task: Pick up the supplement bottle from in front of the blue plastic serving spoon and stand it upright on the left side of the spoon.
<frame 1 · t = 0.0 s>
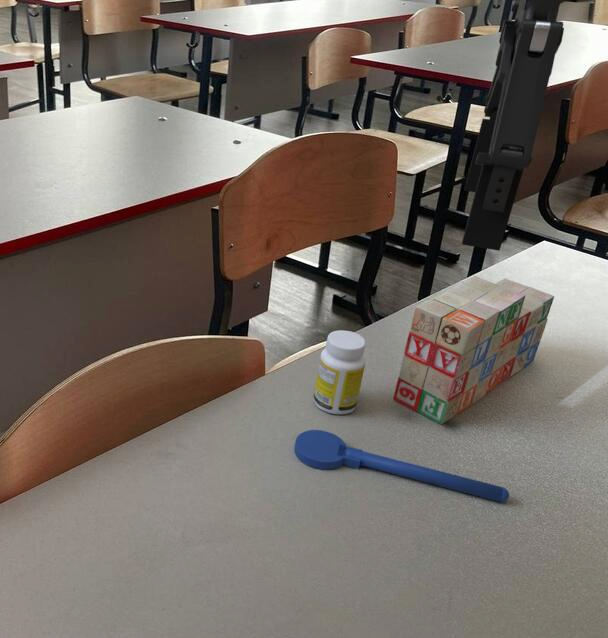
hand: (480, 217, 65), 26 cm above the table, tool pointing down, fingers open, 13 cm apart
stack of blocks: (465, 381, 90), on the table
spoon: (370, 466, 76), on the table
supplement bottle: (333, 404, 85), on the table
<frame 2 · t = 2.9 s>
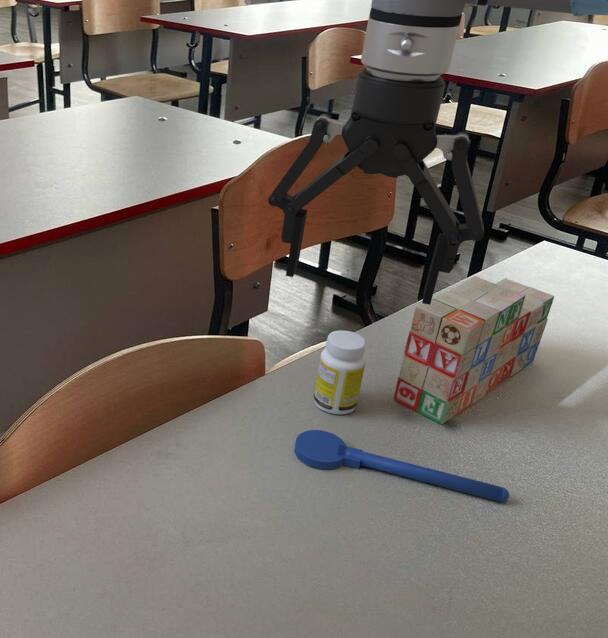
hand: (357, 284, 78), 15 cm above the table, tool pointing down, fingers open, 13 cm apart
nothing on the table moved.
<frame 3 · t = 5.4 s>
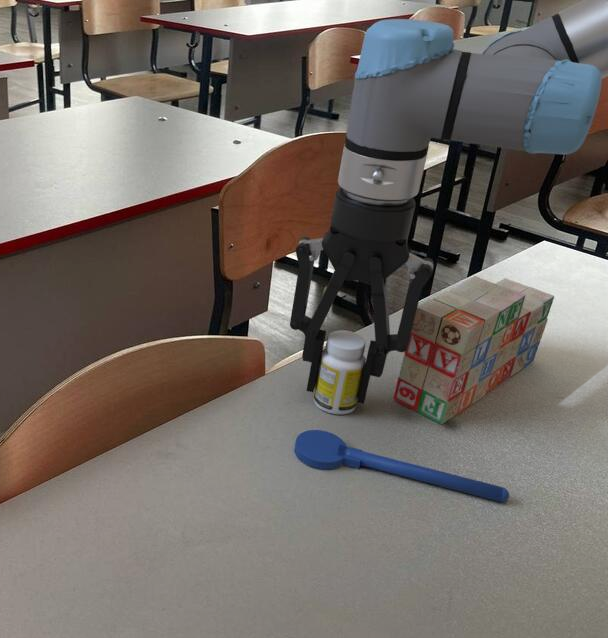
hand: (336, 390, 85), 2 cm above the table, tool pointing down, fingers closed on supplement bottle, 5 cm apart
supplement bottle: (333, 404, 85), on the table, touching gripper
everything else where it was.
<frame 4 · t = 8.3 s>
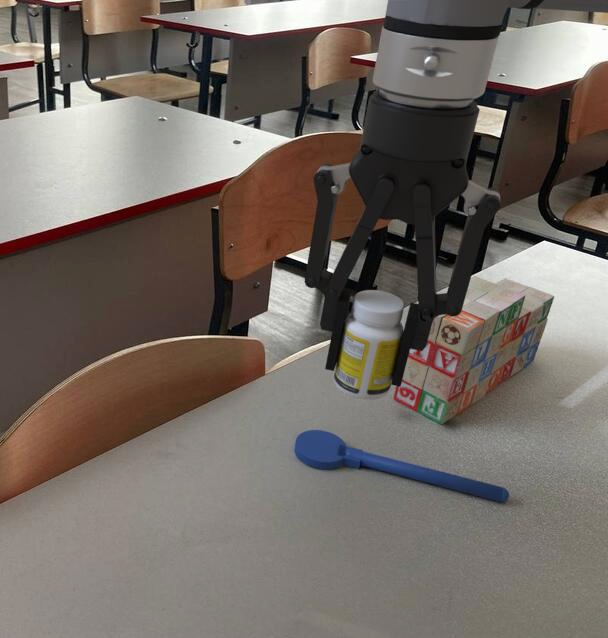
hand: (364, 369, 65), 14 cm above the table, tool pointing down, fingers closed on supplement bottle, 5 cm apart
supplement bottle: (360, 387, 66), point 12 cm above the table, touching gripper
everything else where it was.
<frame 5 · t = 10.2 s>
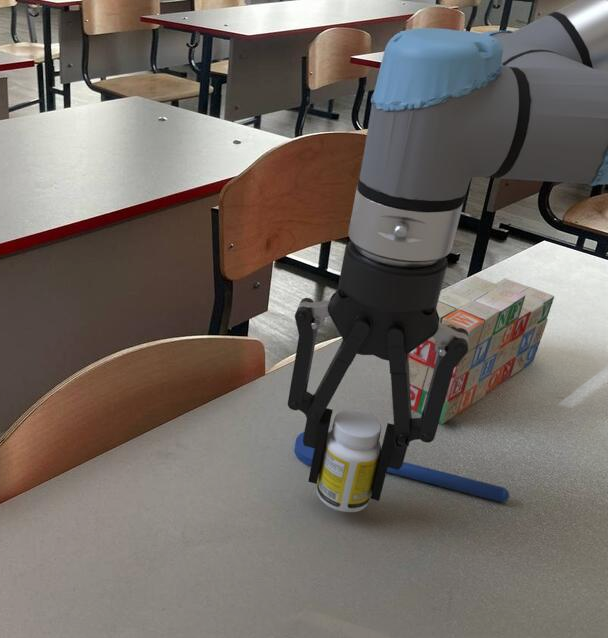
hand: (345, 481, 69), 3 cm above the table, tool pointing down, fingers closed on supplement bottle, 5 cm apart
supplement bottle: (341, 497, 70), point 1 cm above the table, touching gripper
everything else where it was.
when the fingers open (2 cm above the table, at t = 11.1 s): supplement bottle stays where it is, on the table.
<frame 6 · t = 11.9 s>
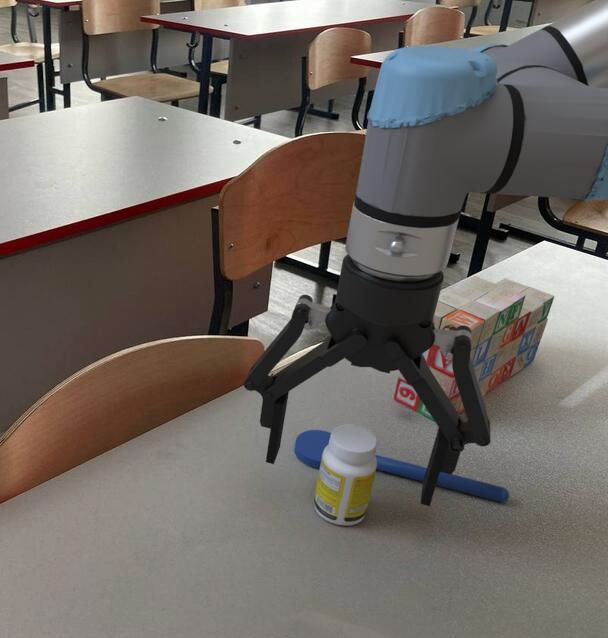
hand: (346, 474, 69), 4 cm above the table, tool pointing down, fingers open, 13 cm apart
supplement bottle: (338, 510, 71), on the table
everything else where it was.
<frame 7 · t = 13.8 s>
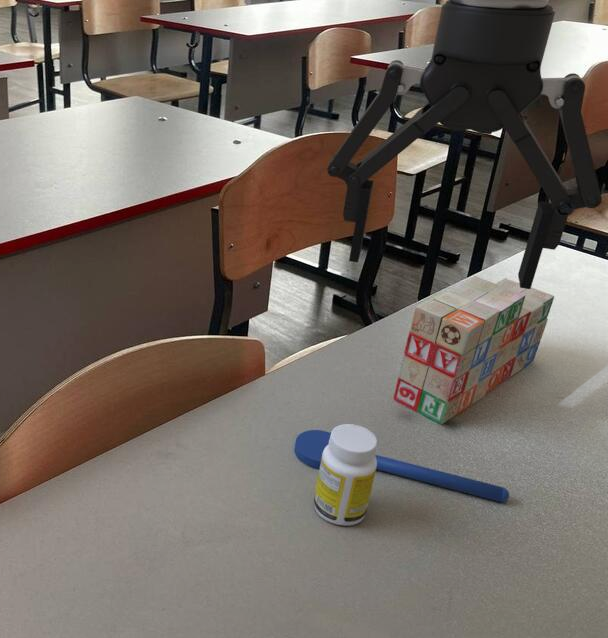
hand: (436, 268, 65), 22 cm above the table, tool pointing down, fingers open, 13 cm apart
nothing on the table moved.
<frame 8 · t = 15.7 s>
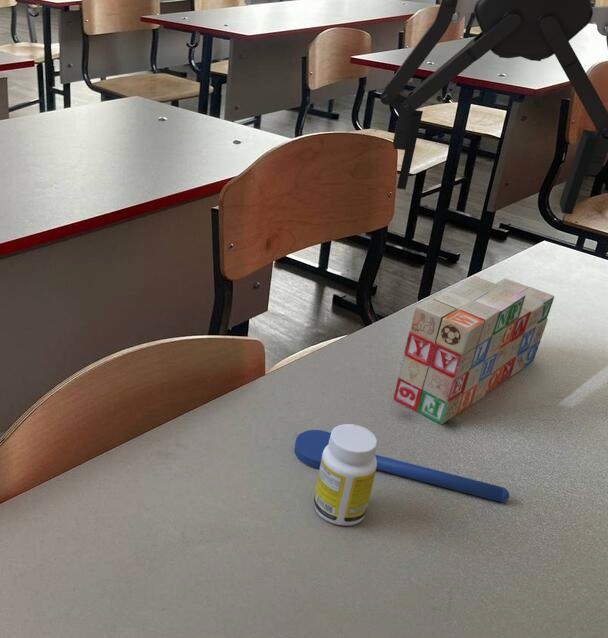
hand: (481, 196, 68), 27 cm above the table, tool pointing down, fingers open, 13 cm apart
nothing on the table moved.
at the end: supplement bottle inside the target area (0.8 cm from its centre), on the table; supplement bottle tilted 0°; supplement bottle 7.8 cm from the spoon (horizontally) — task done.
